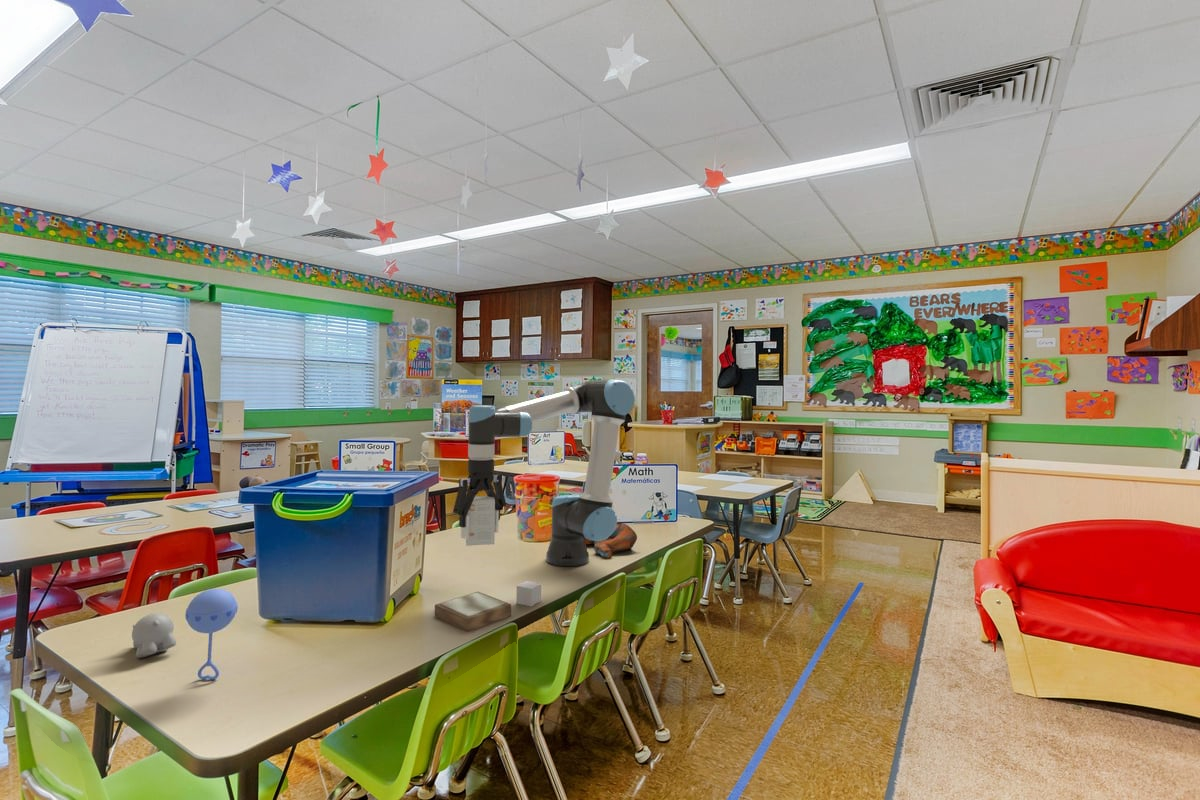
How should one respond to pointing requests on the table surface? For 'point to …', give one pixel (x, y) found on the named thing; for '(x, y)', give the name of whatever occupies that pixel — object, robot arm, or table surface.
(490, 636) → the table surface
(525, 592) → the grey cube
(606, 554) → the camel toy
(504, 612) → the stand
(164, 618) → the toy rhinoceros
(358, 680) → the table surface
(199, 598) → the baby rattle
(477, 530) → the small box
